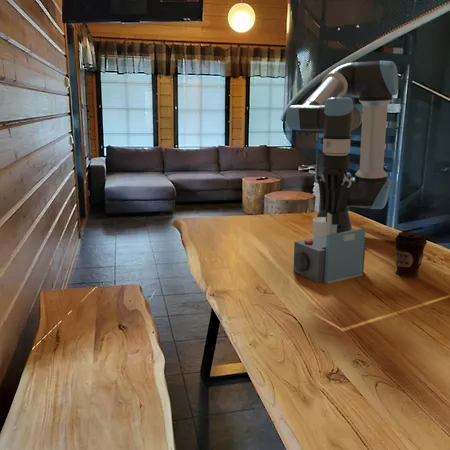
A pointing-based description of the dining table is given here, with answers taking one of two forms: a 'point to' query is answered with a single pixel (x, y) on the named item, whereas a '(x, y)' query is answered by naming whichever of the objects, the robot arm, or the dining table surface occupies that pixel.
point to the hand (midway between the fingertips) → (331, 234)
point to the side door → (344, 255)
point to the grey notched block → (312, 258)
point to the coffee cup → (409, 253)
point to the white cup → (319, 227)
